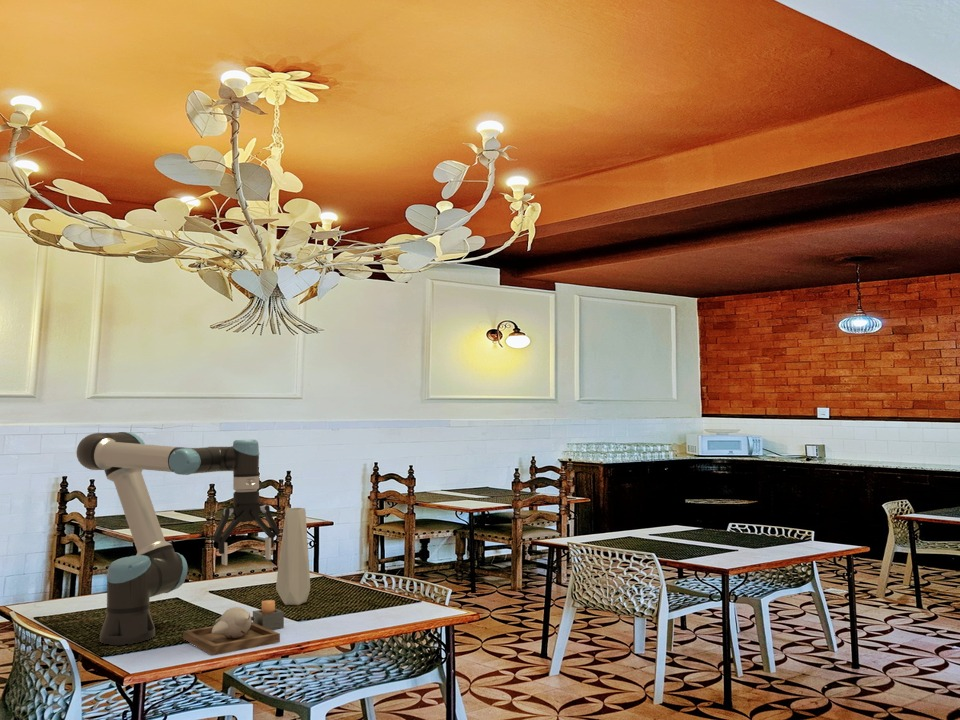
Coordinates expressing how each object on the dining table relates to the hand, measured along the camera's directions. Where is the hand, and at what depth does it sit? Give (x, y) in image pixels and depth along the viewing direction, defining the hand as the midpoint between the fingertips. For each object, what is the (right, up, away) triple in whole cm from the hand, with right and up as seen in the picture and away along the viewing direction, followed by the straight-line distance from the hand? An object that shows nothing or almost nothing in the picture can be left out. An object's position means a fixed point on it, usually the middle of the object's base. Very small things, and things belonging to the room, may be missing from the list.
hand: (246, 562), depth 247 cm
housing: (+4, -22, +8) cm, 24 cm away
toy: (-3, -21, -6) cm, 22 cm away
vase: (+5, -25, +43) cm, 50 cm away
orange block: (+4, -19, +8) cm, 21 cm away
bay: (-3, -21, -7) cm, 23 cm away
